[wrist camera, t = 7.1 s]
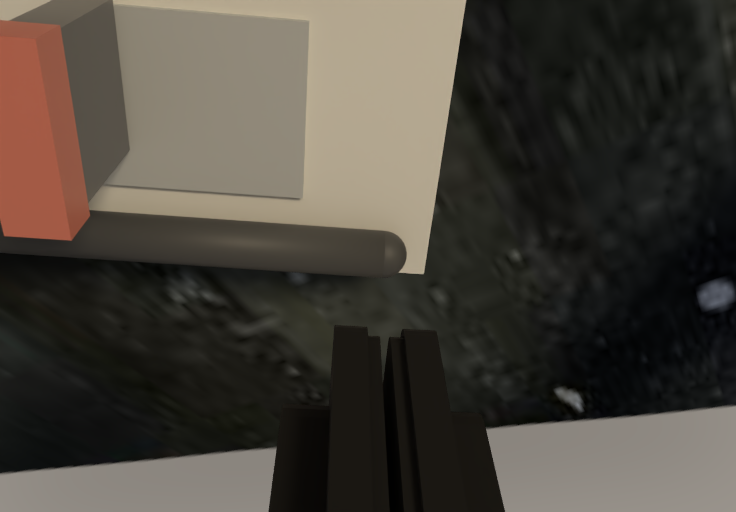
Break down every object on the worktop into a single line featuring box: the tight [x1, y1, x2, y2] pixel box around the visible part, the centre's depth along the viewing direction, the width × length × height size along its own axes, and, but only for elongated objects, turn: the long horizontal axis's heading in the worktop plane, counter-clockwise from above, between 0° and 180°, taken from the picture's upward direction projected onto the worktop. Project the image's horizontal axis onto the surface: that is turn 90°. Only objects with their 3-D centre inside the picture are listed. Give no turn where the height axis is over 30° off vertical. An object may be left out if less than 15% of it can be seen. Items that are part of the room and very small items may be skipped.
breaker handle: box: [0, 0, 130, 241], centre depth 21 cm, size 2×6×7 cm, turn 175°
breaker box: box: [0, 0, 466, 278], centre depth 26 cm, size 20×16×7 cm
